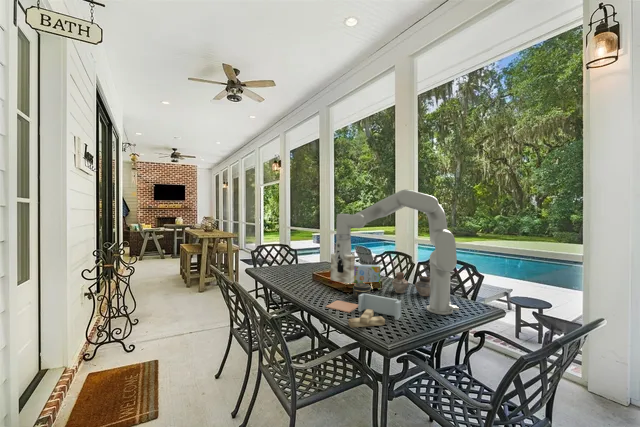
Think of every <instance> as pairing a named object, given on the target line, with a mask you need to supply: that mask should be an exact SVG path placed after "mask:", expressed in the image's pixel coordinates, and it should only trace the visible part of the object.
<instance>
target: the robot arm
mask: <svg viewBox="0 0 640 427" xmlns="http://www.w3.org/2000/svg"><path fill="white" fill-rule="evenodd" d="M405 207H406V208H409V209H412V210H416V211H420V212H421V213H424V214H425V215H426V217H427V219H428V220H427V222H428V227H429V242H430V243H431V245H433V246H434V247H435V249H434V250H433V251H432V252H431V253H430V256H429V267H430V274H429V275H430V276H429V277H430V295H429V304H428V305H427V306H426V310H427V311H428V312H430V313H431V314H435V315H443V316H446V315H452V314H453V313H454V311H455V312H460V306H459V307H458V306H457V305H453V304H452V302H451V272H453V270H454V269H455V268H456V267H457V264H458V263H457V262H458V260H457V247H456V246H457V244H456V239H455V236H454V234H453V233H452V232H451V231H450V230H448V223H447V222H448V220H447V216H446V213H445V210H444V208H443V207H442V206H441V205H440V204H439V200H438V198H436V197H435V196H433V195H429V194H426V193H423V192H419V191H415V190H411V189H401V190H399V191H397V192H395V193H392V194H391V195H389V196H387V197H385V198H383V199H381V200H378V201H377V202H375V203H373V204H372V205H370V206H368V207H366V208H365V209H363V210H360V211H359V212H356V213H353V214H350V213H338V214H337V215H336V229H335V230H336V236H335V237H336V239H335V240H336V242H335V252H334V253H335V258H336V259H335V261H336V262H337V265H338V267H337V272H340V273H343V260H345V259H346V256H348V255H352V239H351V237H352V236H351V235H352V234H351V233H352V232H351V229H352V228H353V229H363V228H364V227H365V225H366V224H369V223H370V222H372V221H374V220H377V219H380V218H384V217H387V216H389V215H391V214H394V213H395V212H397V211H400V210H401V209H403V208H405ZM339 258H341V259H339ZM340 260H341V261H340Z"/></svg>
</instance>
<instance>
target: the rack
mask: <svg viewBox="0 0 640 427" xmlns="http://www.w3.org/2000/svg"><path fill="white" fill-rule="evenodd" d="M357 301H358V308H357V309H358V310H357V312H360V313H362V311H363V312H364V311H366V309H372V310H374V313H378V314H383V315H388V316H391V317H392V316H393V317H394V320H395V321H399V320H400V318H401V317H402V300H401V299H397V298H391V297H387V296H381V295H374V294H371V293H370V294H365V293H362V294H361V295H359V296H358V300H357Z"/></svg>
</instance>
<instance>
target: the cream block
mask: <svg viewBox="0 0 640 427" xmlns="http://www.w3.org/2000/svg"><path fill="white" fill-rule="evenodd" d="M355 258H356V256H355V255H353V254H351V255H348V256H346V259H345V260H343V273H340V272H337V267H338V265H337V262H336V261H335V259H336V258H335V252H334V253H331V254H330V281H334V282H339V283H345V284H347V283H349V284H351V283H353V282H354V266H355V265H356V264H355V261H356V260H355ZM339 259H341V258H339ZM340 261H341V260H340Z"/></svg>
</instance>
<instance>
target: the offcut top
mask: <svg viewBox="0 0 640 427" xmlns="http://www.w3.org/2000/svg"><path fill="white" fill-rule="evenodd" d="M374 315H375V312H374V310H372V309H366V310H364V311H363V313H362V314H361V316H359V318H360V323H363V324H368V322H369V321H370V319H371V318H372V317H374Z"/></svg>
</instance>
